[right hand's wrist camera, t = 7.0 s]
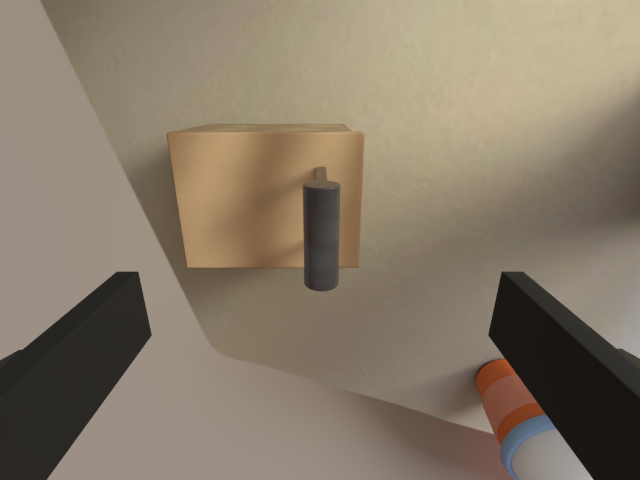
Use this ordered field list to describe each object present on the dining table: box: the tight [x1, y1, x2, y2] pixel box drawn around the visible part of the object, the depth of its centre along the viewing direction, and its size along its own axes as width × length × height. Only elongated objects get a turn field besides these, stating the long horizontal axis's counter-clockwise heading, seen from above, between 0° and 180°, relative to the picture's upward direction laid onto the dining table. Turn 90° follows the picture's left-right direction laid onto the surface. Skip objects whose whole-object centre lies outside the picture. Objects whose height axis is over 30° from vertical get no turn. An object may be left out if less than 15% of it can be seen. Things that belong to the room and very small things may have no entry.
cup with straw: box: [476, 359, 593, 480], centre depth 36 cm, size 9×9×18 cm
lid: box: [167, 131, 365, 291], centre depth 23 cm, size 14×10×8 cm
